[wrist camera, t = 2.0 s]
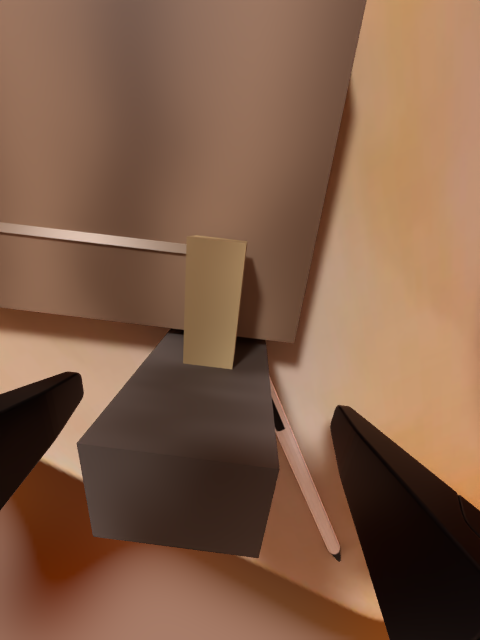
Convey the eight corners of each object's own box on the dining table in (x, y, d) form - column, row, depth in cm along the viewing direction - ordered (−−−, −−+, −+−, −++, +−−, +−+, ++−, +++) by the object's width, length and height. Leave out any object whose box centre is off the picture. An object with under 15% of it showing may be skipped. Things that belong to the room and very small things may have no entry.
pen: (247, 318, 11) (246, 327, 10) (343, 551, 17) (349, 572, 16) (229, 324, 12) (227, 334, 11) (331, 554, 18) (336, 574, 16)
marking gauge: (278, 242, 10) (326, 267, 3) (255, 386, 12) (258, 557, 6) (178, 230, 10) (39, 233, 3) (176, 376, 12) (93, 536, 6)
